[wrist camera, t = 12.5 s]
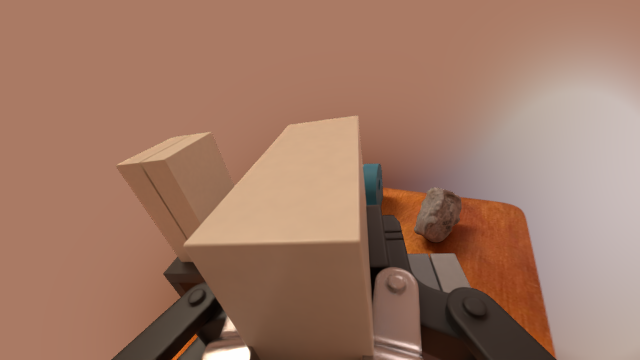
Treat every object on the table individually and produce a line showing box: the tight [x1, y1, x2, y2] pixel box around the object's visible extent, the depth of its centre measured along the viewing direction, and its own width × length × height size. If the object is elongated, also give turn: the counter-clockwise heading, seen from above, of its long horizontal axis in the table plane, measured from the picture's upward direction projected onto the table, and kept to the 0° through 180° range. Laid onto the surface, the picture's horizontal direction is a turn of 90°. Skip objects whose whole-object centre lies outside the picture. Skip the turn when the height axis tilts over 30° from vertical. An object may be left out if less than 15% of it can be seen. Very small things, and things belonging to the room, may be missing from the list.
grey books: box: [407, 253, 471, 360], centre depth 24 cm, size 8×7×12 cm
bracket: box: [363, 164, 383, 205], centre depth 47 cm, size 18×10×10 cm, turn 160°
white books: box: [116, 132, 235, 262], centre depth 24 cm, size 5×7×12 cm
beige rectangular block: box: [183, 116, 374, 360], centre depth 9 cm, size 3×7×12 cm, turn 172°
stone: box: [414, 188, 461, 242], centre depth 38 cm, size 9×7×10 cm
